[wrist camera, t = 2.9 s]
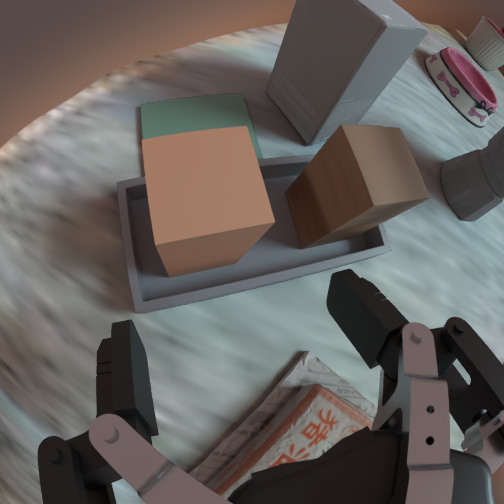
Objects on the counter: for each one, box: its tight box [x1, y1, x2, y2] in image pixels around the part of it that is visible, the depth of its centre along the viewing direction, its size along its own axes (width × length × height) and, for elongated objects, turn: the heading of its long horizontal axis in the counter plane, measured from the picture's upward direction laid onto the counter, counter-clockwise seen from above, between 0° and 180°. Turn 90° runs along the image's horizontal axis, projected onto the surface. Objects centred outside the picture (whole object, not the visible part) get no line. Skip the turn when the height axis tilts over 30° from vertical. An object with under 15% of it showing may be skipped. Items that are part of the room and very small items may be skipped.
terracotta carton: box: [142, 126, 275, 278], centre depth 17 cm, size 5×5×10 cm
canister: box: [465, 16, 504, 71], centre depth 46 cm, size 18×18×21 cm
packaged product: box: [188, 351, 378, 500], centre depth 17 cm, size 18×5×10 cm
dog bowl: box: [424, 47, 498, 128], centre depth 37 cm, size 18×19×7 cm
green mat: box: [140, 93, 263, 160], centre depth 24 cm, size 10×8×1 cm
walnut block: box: [285, 124, 430, 250], centre depth 19 cm, size 5×5×10 cm
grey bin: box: [117, 155, 391, 313], centre depth 22 cm, size 20×9×3 cm, turn 104°
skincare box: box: [266, 0, 428, 146], centre depth 20 cm, size 8×7×16 cm
